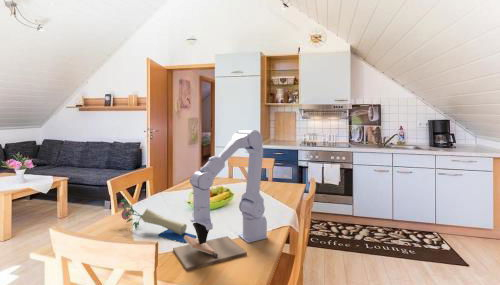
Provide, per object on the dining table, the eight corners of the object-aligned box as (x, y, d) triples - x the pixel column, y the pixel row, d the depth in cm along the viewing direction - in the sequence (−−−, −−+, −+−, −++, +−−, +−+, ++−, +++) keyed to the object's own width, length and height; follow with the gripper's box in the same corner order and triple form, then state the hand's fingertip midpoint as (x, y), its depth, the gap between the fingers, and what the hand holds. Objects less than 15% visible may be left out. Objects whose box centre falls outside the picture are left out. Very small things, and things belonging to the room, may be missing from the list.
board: (227, 238, 116) (227, 233, 116) (246, 254, 102) (246, 248, 102) (173, 250, 105) (172, 244, 105) (186, 270, 92) (186, 264, 91)
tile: (184, 234, 103) (183, 238, 103) (193, 244, 96) (191, 247, 95) (205, 242, 108) (204, 245, 108) (215, 252, 100) (213, 255, 100)
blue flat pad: (185, 242, 111) (157, 234, 118) (185, 245, 112) (157, 236, 118) (197, 235, 118) (169, 228, 125) (197, 238, 118) (169, 230, 125)
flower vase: (174, 255, 118) (107, 226, 127) (190, 236, 128) (127, 211, 138) (174, 233, 112) (104, 205, 122) (191, 215, 123) (125, 190, 133)
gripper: (184, 201, 105) (185, 237, 106) (198, 213, 93) (198, 253, 94) (202, 199, 109) (203, 233, 110) (218, 209, 96) (218, 248, 97)
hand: (202, 242), depth 102 cm, fingers closed, pressing on tile
